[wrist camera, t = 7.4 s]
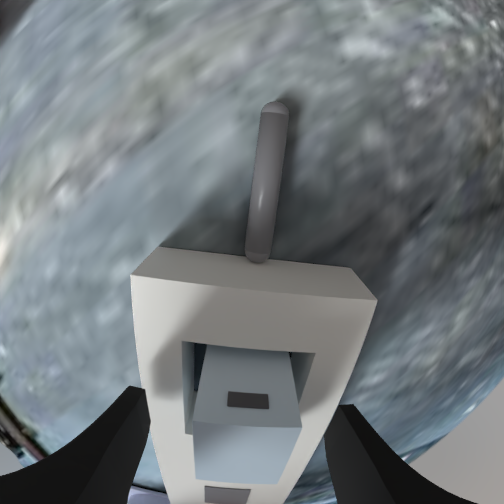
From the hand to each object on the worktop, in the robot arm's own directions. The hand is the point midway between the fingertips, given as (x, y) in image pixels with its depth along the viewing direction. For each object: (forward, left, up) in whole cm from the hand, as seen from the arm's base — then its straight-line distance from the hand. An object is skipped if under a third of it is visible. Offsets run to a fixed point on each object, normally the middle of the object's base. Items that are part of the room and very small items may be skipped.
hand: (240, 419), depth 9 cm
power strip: (-2, 0, -4) cm, 4 cm away
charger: (0, 0, -4) cm, 4 cm away
